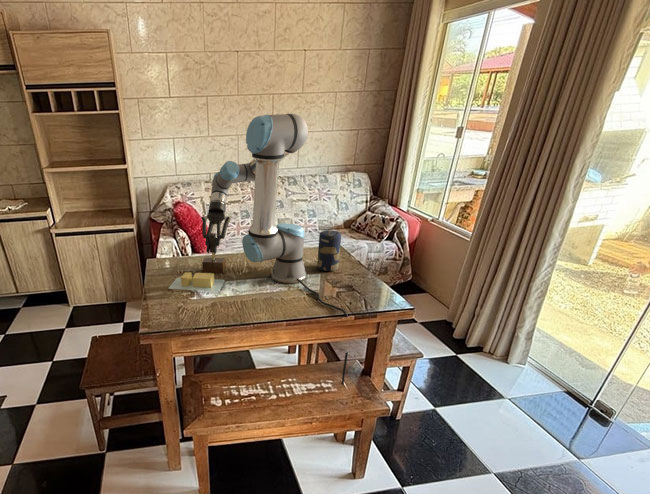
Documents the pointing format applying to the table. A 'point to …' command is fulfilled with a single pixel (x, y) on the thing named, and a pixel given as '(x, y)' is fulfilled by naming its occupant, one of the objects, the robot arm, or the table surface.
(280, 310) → the table surface
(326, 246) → the canister
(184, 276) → the butter pat
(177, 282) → the butter dish
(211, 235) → the knife
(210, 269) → the knife block
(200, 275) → the butter block
